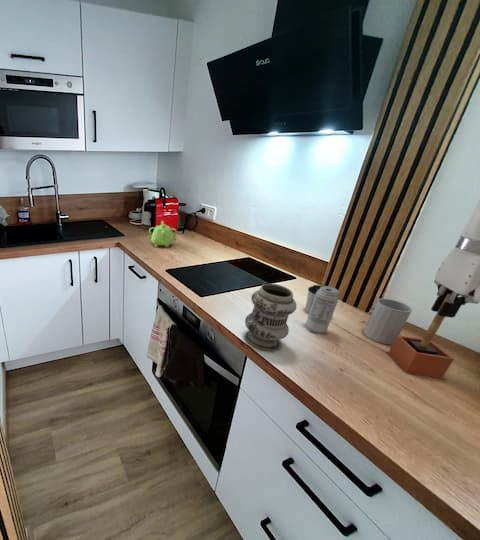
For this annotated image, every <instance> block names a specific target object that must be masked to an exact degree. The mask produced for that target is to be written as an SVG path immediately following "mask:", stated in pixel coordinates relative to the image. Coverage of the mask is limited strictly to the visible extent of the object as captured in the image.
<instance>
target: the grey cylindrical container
mask: <svg viewBox="0 0 480 540" xmlns="http://www.w3.org/2000/svg"><path fill="white" fill-rule="evenodd" d="M412 312H413V309H412V307H410V306H409V305H408V304H405V303H403V302H401V301H398V300H394V299H390V298H383V297H382V298H378V299H377V300H376V302H375V304H374V306H373V309H372V310H371V313H370V316H369V318H368V319H367V321H366V324H365V327H364V329H363V334H364V335H365V336H366V338H369V339H371V340H372V341H373V342H377V343H379V344H384V345H392V344H393V342H394V340H395V338H396V336H397V335H399V336H401V333H402V331H403V329H404V328H405V325H406V323H407V321H408V319H409V317H410V316H411V313H412Z"/></svg>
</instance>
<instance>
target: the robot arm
mask: <svg viewBox="0 0 480 540" xmlns="http://www.w3.org/2000/svg"><path fill="white" fill-rule="evenodd" d="M470 214H471V215H470V217H468V220H467V222H466V224H465V226H464V228H463V230H462V232H461V233H460V235H459V238H458V239H457V241H456V243H455V245H454V246H453V247H452V248H451V250H450V251H449V252H448V254H447V255H446V256H445V257H444V259H443V261H442V263H441V264H440V265H439V267H438V269H437V271H436V273H435V276H434V281H433V282H434V284H435V285H436V287H437V292H436V296H437V297H436V299H435V301H434V303H433V305H432V306H431V309H430V311H432V312H435V313H437V312H438V310H439V309H440V307H441V305H442V303H443V301H444V300H445V298H446V296H447V294H448V293H450V294H451V296H450V298H449V299H448V302H446V301H445V302H444V304H443V305H442V307H441V309H440V311H439V312H438V315H439V316H444V317H445V318H451V319H452V318H455V316H456V315H457V314H458V312H459V310H460V309H461V307H462V306H466V304H475V305H478V304H480V198H479V199H478V201H477V203H476V205H475V207H474V208H473V210H472V213H470Z"/></svg>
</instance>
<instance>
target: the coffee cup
mask: <svg viewBox="0 0 480 540" xmlns="http://www.w3.org/2000/svg"><path fill="white" fill-rule="evenodd" d="M321 286H322V285H321V284H320V285H319V284H314V285H312V286H309V287H308V289H307V290H308V291H307V298H306V302H305V308H304V311H305V312H306V313H307V314H309V313H310V310H311V307H312V304H313V301H314V298H315V295H316V292H317V290H319V289H320V287H321Z"/></svg>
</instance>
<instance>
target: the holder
mask: <svg viewBox="0 0 480 540" xmlns="http://www.w3.org/2000/svg"><path fill="white" fill-rule="evenodd" d="M422 339H423V338H419V337H412V336H405V335H397V336H396V338H395V340H394V342H393V344H391V347H390V348H389V351H388V353H387V354H388V355H389V356H390V357H391V358H392V359H393V360H394V361H395V362H396V363H397V364H398V365H399V366H400V368H402V369H403V371H404V372H405V373H408V374H415V375H422V376H427V377H434V378H438V379H443V378H444V375H446V372H448V369H449V368H450V366H451V365H452V363H453V361H454V360H455V359H454V357H452V356H451V355H450V354H448V353H447V352H446V351H445V350H443V349H442V348H441V347H440V346H439V345H438V344H436V343H435V342H434V341H431V342H430V344H429V346H431V347H432V348H433V349H434V350H435V351H437V354H436V355H432V354H425V353H419V352H417V351H416V350H415V349H413V348H412V347H411V346H410V345H409V344H408V343H409V342H410V341H416V342H421V341H422Z"/></svg>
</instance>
